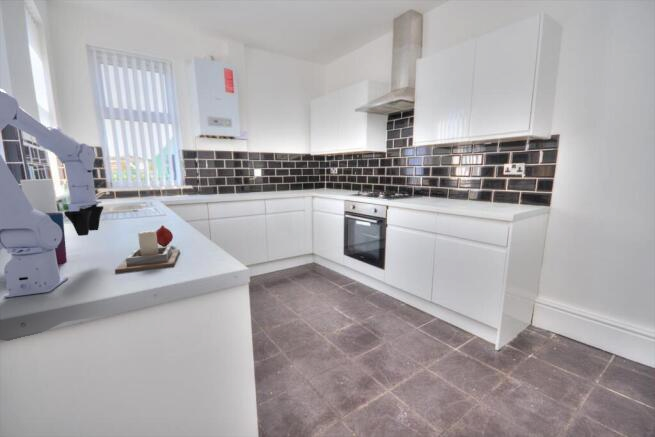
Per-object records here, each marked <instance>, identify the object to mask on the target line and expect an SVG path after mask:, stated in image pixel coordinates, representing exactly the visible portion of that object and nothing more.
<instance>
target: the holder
mask: <svg viewBox="0 0 655 437" xmlns="http://www.w3.org/2000/svg"><path fill="white" fill-rule="evenodd" d="M158 250H159V254H156V255H147V256H141V251H140V248H137V249H134V250H133V251H132V252H131V253H130V254H129V255H128V256H127V257H126V258H125V259H124V260H123V261H122V262H121V263H119V265H118V266H117V267H116V268H114V272H115V273H114V274H120V273H128V272H138V271H144V270H154V269H163V268H171V267H173V268H174V266H175V263H176V261H177V260H178V257H179V255H180V253H181V250H180V249H179V248H177V249H172V246H170V245H169V246H168V245H167V246H166V247H163V246H160V247H159V246H158ZM179 252H180V253H179ZM176 259H177V260H176Z"/></svg>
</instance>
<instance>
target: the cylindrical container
mask: <svg viewBox="0 0 655 437" xmlns="http://www.w3.org/2000/svg"><path fill="white" fill-rule="evenodd" d="M19 182H20V187H21V189H22V191H23V192H24V194H25V195H26V197H27V199H28V200H29V202H30V204H31V205H32V207H33V208H34V209H36V210H38V211H40V212H43V213H59V211H58V203H57V199H56V198H57V197H56V192H55V188H54V181H53V178H43V179H41V178H39V179H34V178H33V179H20V181H19Z"/></svg>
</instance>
